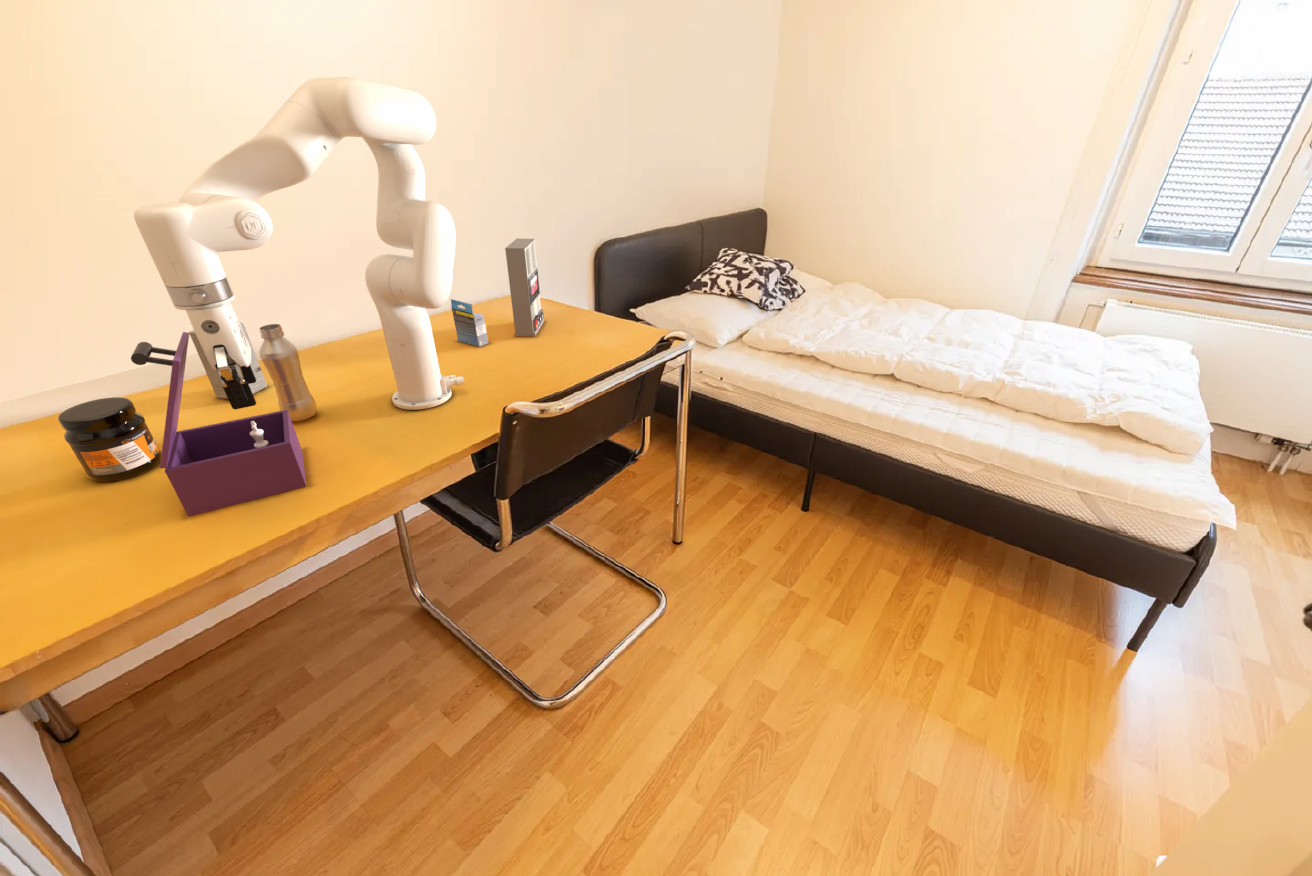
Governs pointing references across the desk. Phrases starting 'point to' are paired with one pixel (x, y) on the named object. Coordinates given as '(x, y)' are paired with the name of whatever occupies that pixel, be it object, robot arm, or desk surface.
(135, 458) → the supplement container
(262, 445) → the chess piece
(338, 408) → the desk surface
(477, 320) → the label tape box
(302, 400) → the plastic bottle
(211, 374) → the cosmetic box
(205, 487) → the box
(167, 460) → the lid
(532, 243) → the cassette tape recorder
